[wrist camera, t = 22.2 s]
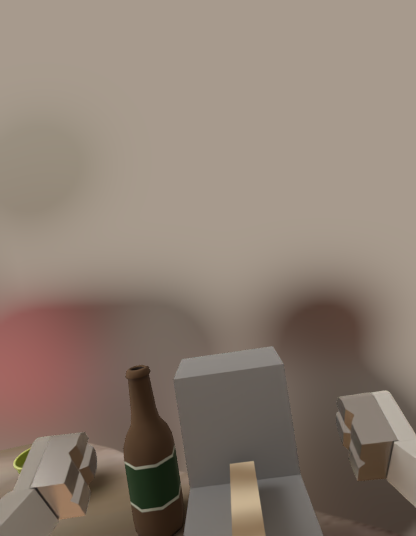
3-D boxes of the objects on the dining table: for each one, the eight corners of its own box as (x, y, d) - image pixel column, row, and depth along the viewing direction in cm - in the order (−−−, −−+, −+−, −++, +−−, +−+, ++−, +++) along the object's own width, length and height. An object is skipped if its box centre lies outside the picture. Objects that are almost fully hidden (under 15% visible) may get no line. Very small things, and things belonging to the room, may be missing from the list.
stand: (379, 806, 23) (320, 423, 23) (202, 822, 24) (144, 447, 24) (303, 543, 45) (272, 346, 45) (212, 554, 46) (181, 359, 46)
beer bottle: (194, 509, 55) (171, 359, 55) (170, 548, 48) (144, 376, 48) (153, 502, 58) (131, 360, 58) (124, 538, 51) (99, 377, 51)
